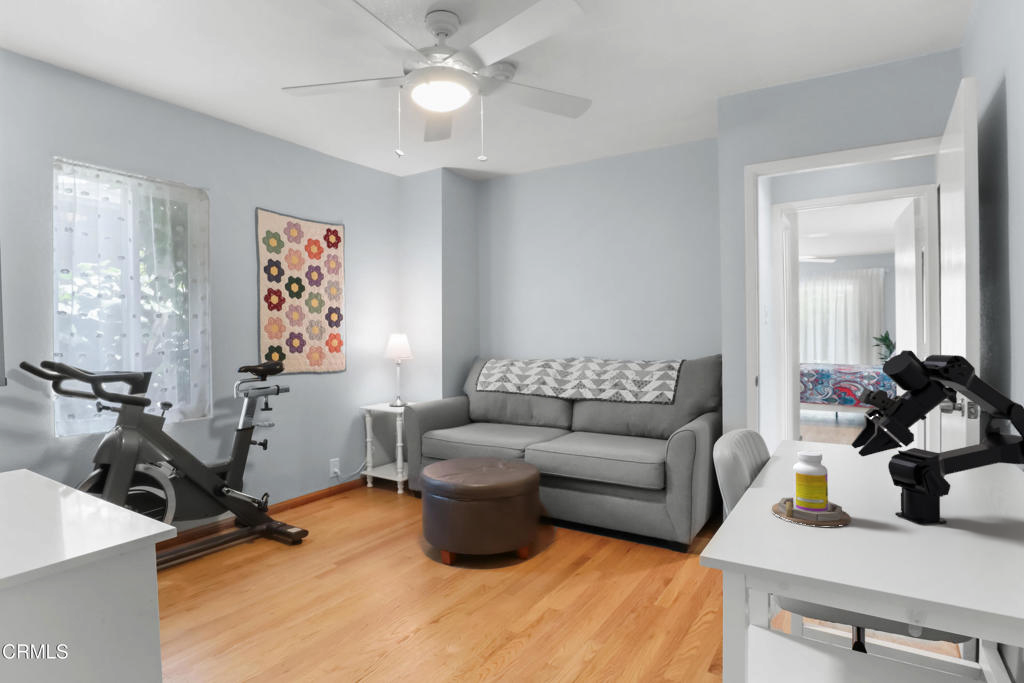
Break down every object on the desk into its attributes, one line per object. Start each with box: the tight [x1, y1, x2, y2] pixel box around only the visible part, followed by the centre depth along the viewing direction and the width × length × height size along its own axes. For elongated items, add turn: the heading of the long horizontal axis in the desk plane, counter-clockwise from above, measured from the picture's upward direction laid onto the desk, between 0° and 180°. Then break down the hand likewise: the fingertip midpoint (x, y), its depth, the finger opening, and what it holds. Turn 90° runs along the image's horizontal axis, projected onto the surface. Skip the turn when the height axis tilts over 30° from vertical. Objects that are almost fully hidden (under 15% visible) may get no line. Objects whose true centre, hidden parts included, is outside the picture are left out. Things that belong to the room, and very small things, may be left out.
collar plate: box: [771, 496, 851, 526], centre depth 120 cm, size 15×15×4 cm
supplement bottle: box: [792, 450, 829, 513], centre depth 120 cm, size 7×7×13 cm
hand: (856, 450), depth 122 cm, fingers open, 9 cm apart
